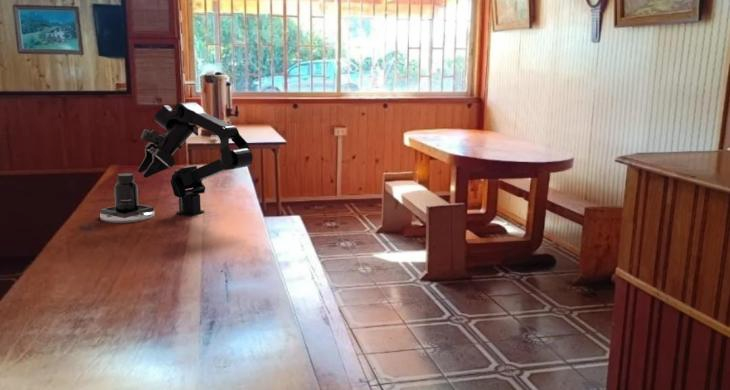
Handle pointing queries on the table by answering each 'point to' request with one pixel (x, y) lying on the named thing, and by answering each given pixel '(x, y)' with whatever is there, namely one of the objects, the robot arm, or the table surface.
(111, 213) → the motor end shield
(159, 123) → the robot arm
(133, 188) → the supplement bottle
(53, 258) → the table surface
